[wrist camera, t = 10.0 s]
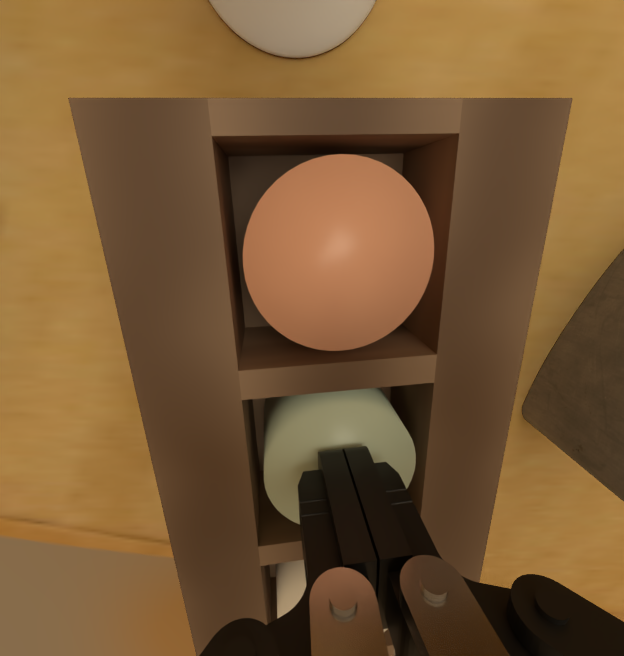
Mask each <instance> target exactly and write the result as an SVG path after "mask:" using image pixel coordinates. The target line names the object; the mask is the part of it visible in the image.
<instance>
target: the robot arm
mask: <svg viewBox="0 0 624 656" xmlns="http://www.w3.org/2000/svg"><path fill="white" fill-rule="evenodd" d="M298 501H299V519H300V531H301V540H302V549H303V558H304V568H305V577H306V589H305V591H304V594H303V596H302V597H301V599H300V601H299V602H298V603H297V604H296V606H295V607H294V608H292V609H291V610H290V611H289V612H287V613H286V614H284V615H283V616H281V617H279V618H278V619H276V620H274V621H272V622H271V623H269V624H267V625H265V624H264V623H263V622H261V621H259V620H256V619H253V618H241V619H237V620H234V621H232V622H230V623H228V624H227V625H225V626H224V627H222V628H221V629H220V630H219V631H218V632H217V633H216V634H215V635H214V636H213V638H212V639H211V640H210V642H209V643H208V644H207V646H206V647H205V649H204V650H203V651H202V653H201V654H200V655H199V656H389V654H388V649H387V644H386V640H385V635H384V630H383V629H389V632H390V636H391V639H392V643H393V646H394V656H624V622H623V621H621V620H620V619H618V618H616V617H615V616H613V615H611V614H610V613H608V612H606V611H605V610H603V609H601V608H600V607H598V606H596V605H595V604H593V603H591V602H590V601H588V600H586V599H585V598H583V597H581V596H580V595H578V594H576V593H575V592H573V591H571V590H570V589H568V588H566V587H565V586H563V585H561V584H560V583H558V582H556V581H554V580H552V579H550V578H547V577H544V576H541V575H535V574H527V575H522V576H520V577H518V578H517V579H516V580H515V581H514V583H513V584H512V588H511V589H509V588H504V587H498V586H493V585H488V584H483V583H478V582H475V581H472V580H469V579H467V578H465V577H463V576H461V575H460V573H459V572H458V571H457V570H456V569H455V568H454V567H453V566H452V565H450V564H449V563H447V562H446V561H444V560H443V559H442V558H441V556H440V555H439V553H438V551H437V549H436V547H435V545H434V543H433V541H432V539H431V537H430V535H429V533H428V531H427V529H426V527H425V525H424V523H423V521H422V519H421V517H420V515H419V513H418V511H417V509H416V507H415V505H414V504H413V502H412V499H411V497H410V495H409V493H408V491H407V490H406V487H405V485H404V483H403V481H402V479H401V477H400V475H399V473H398V472H397V471H396V470H395V469H394V468H392V467H391V466H390V465H389V464H388V463H387V462H379V463H374V461H373V459H372V457H371V454H370V452H369V450H368V448H367V446H362V447H353V448H344V449H336V450H327V451H318V470H311V471H303V473H302V476H301V478H300V481H299V484H298Z"/></svg>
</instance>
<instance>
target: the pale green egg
mask: <svg viewBox="0 0 624 656" xmlns="http://www.w3.org/2000/svg"><path fill="white" fill-rule="evenodd" d="M362 446H367V448H368V450H369V452H370V454H371V457H372V459H373V461H374V463H379V462H387V463H388V464H389V465H390V466H391V467H392V468H394V469H395V470H396V471H397V472H398V473H399V475H400V477H401V479H402V481H403V483H404V485H405V487H406V489H407V488H408V486H409V484H410V482H411V480H412V477H413V474H414V470H415V464H416V453H415V447H414V444H413V441H412V438H411V437H410V435H409V433H408V431H407V429H406V428H405V426H404V425H403V423H402V421H401V420H400V418H399V417H398V415H397V413H396V412H395V410H394V409H393V407H392V405H391V404H390V402H389V401H388V399H387V397H386V396H385V394H384V393H383V391H382V389H381V388H369V389H358V390H347V391H336V392H325V393H314V394H303V395H292V396H281V397H270V398H266V400H265V406H264V484H265V489H266V492H267V495H268V497H269V499H270V501H271V502H272V504H273V505H274V506H275V508H276V509H277V510H278V511H279V512H280V513H281V514H282V515H284V516H285V517H286V518H288V519H289V520H291V521H293V522H295V523H297V524H300V519H299V501H298V484H299V481H300V478H301V476H302V473H303V471H311V470H318V451H327V450H336V449H344V448H353V447H362Z"/></svg>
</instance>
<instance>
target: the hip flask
mask: <svg viewBox="0 0 624 656" xmlns="http://www.w3.org/2000/svg"><path fill="white" fill-rule="evenodd" d="M522 414H523V417H524V418H525V420H526V421H528V422H529V423H530V424H531V425H532V426H534V427H535V428H536V429H537V430H539V431H540V432H541V433H542V434H543V435H545V436H546V437H547V438H548V439H549V440H551V441H552V442H553V443H554V444H555V445H557V446H558V447H559V448H560V449H561V450H563V451H564V452H565V453H566V454H567V455H569V456H570V457H571V458H572V459H573V460H575V461H576V462H577V463H578V464H579V465H581V466H582V467H583V468H584V469H585V470H587V471H588V472H589V473H590V474H591V475H593V476H594V477H595V478H596V479H597V480H599V481H600V482H601V483H602V484H603V485H605V486H606V487H607V488H608V489H609V490H611V491H612V492H613V493H614V494H615V495H617V496H618V497H619V498H620V499H621V500H623V501H624V249H623V251H622V252H621V253H620V254H619V255H618V257H617V258H616V259H615V260H614V261H613V263H612V264H611V265H610V266H609V268H608V269H607V270H606V271H605V273H604V274H603V275H602V277H601V278H600V279H599V280H598V282H597V283H596V284H595V286H594V287H593V288H592V290H591V291H590V292H589V294H588V295H587V297H586V298H585V299H584V301H583V302H582V304H581V305H580V307H579V308H578V309H577V311H576V312H575V314H574V315H573V317H572V318H571V320H570V321H569V323H568V324H567V326H566V327H565V329H564V330H563V332H562V333H561V335H560V337H559V338H558V340H557V341H556V343H555V345H554V346H553V348H552V350H551V351H550V353H549V355H548V357H547V358H546V360H545V362H544V364H543V365H542V367H541V369H540V371H539V373H538V374H537V376H536V378H535V380H534V382H533V384H532V386H531V388H530V391H529V393H528V395H527V397H526V399H525V401H524V404H523V407H522Z"/></svg>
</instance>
